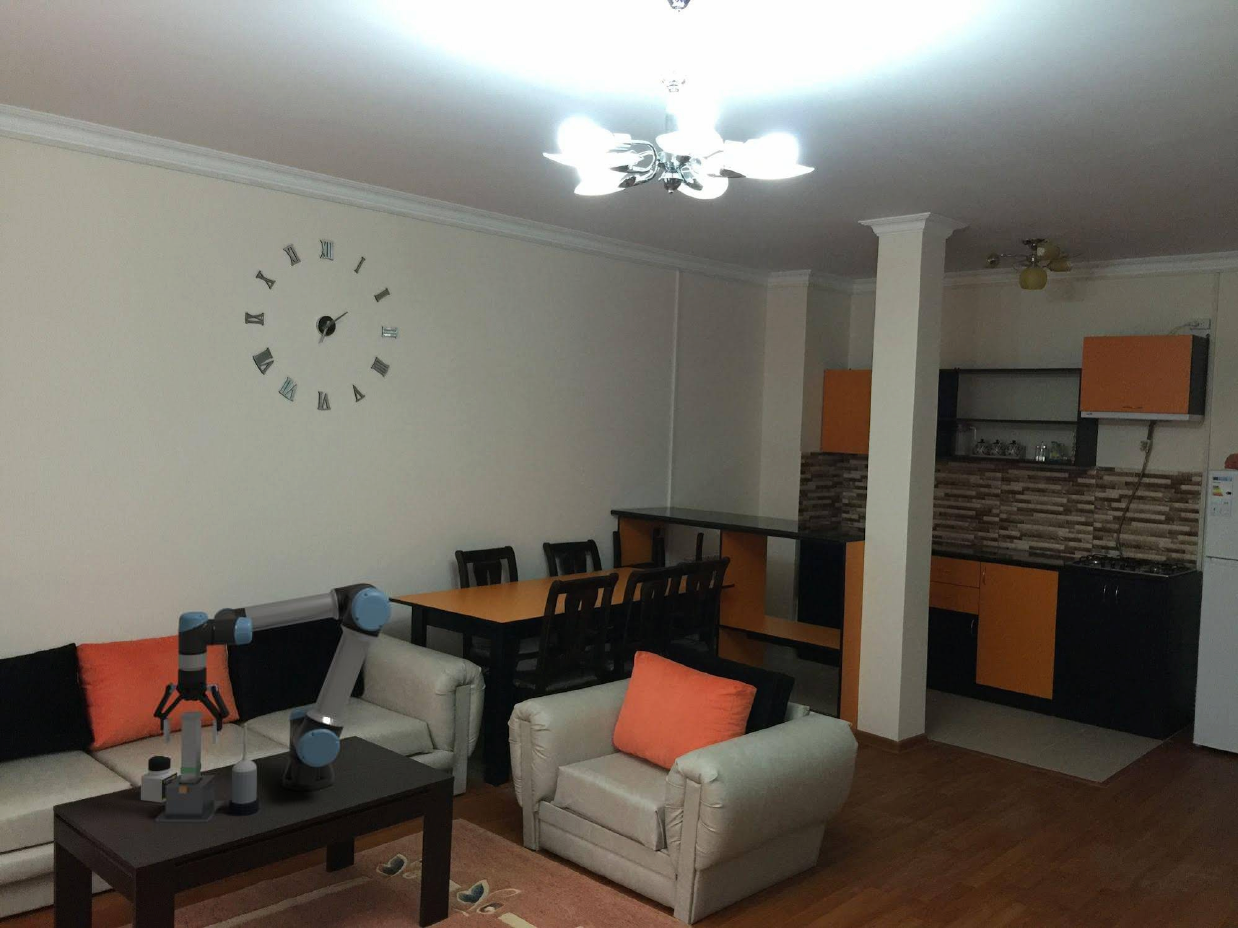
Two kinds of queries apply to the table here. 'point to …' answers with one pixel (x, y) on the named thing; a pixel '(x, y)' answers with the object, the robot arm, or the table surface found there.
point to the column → (191, 748)
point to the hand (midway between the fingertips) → (191, 742)
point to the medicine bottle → (157, 779)
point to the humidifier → (244, 785)
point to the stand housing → (190, 801)
